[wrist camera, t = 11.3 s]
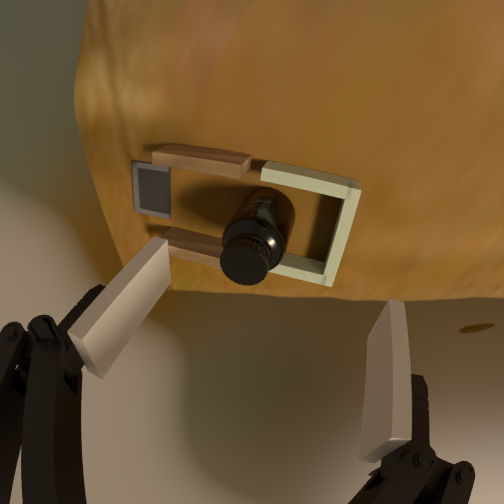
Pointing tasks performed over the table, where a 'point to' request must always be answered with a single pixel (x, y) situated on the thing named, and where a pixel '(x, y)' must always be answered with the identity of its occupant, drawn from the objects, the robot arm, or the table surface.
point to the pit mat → (151, 189)
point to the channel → (207, 162)
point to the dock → (350, 197)
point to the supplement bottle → (257, 236)
